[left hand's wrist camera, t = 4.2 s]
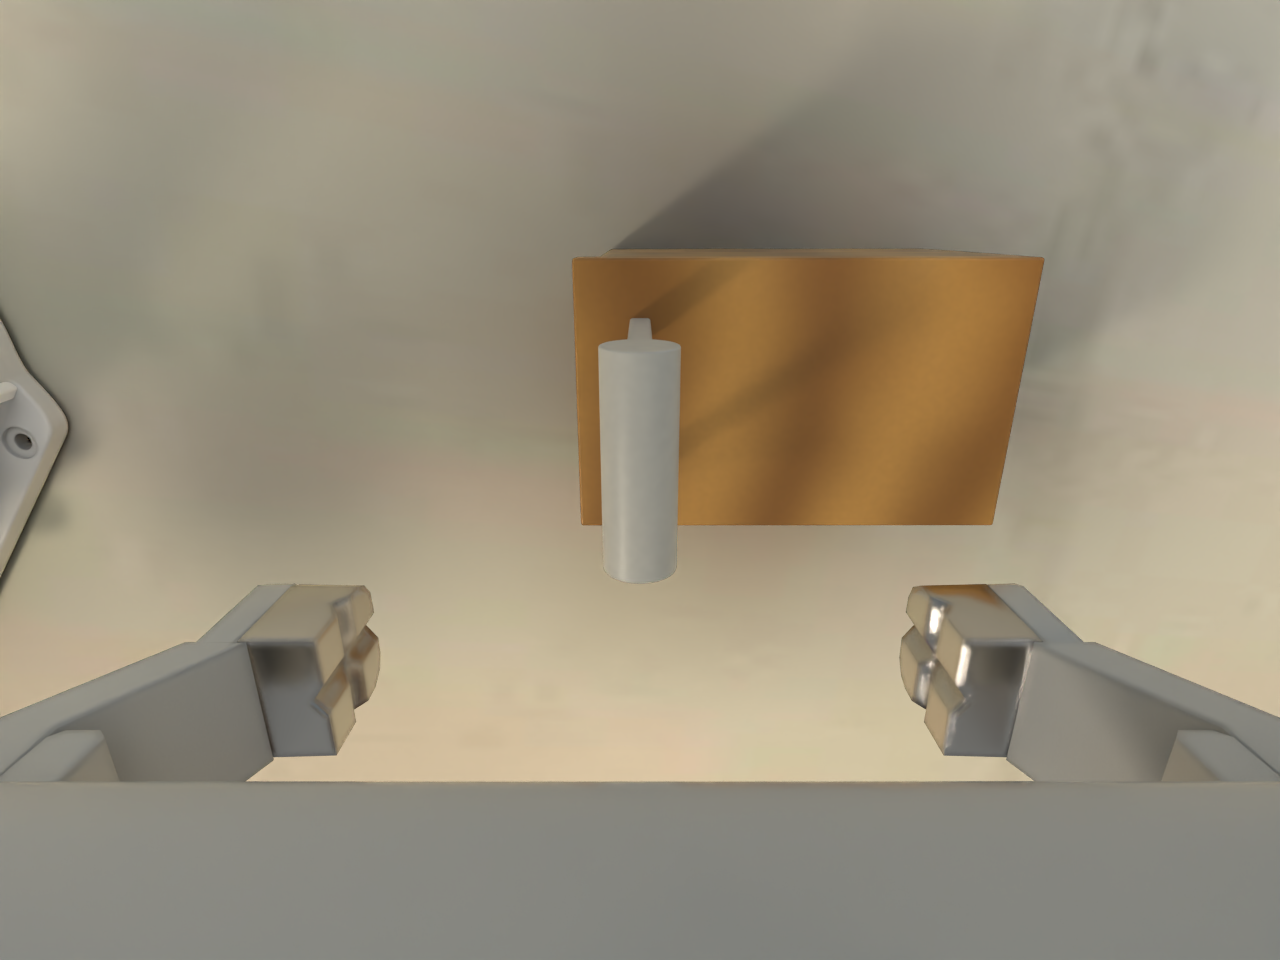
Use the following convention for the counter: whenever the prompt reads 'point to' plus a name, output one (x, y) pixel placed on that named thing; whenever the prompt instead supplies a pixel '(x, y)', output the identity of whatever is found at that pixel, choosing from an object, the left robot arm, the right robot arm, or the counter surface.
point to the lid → (792, 393)
